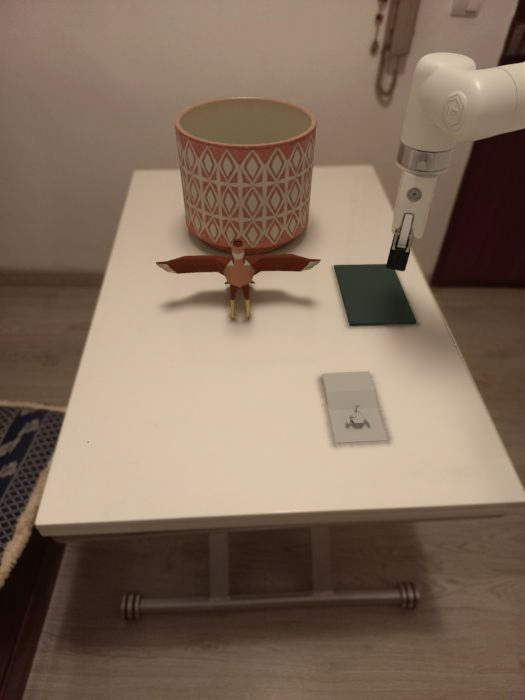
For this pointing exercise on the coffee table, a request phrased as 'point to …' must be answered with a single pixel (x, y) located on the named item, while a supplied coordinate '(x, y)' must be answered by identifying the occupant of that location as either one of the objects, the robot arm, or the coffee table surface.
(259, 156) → the planter
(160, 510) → the coffee table surface
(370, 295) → the felt mat
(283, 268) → the decorative bird
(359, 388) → the white pop-up card
